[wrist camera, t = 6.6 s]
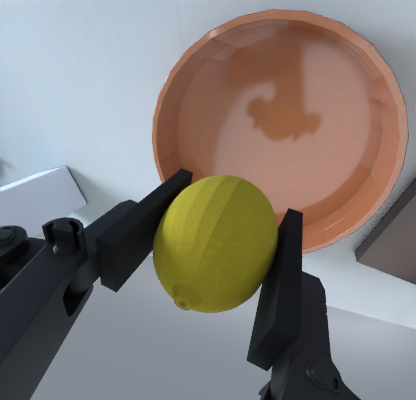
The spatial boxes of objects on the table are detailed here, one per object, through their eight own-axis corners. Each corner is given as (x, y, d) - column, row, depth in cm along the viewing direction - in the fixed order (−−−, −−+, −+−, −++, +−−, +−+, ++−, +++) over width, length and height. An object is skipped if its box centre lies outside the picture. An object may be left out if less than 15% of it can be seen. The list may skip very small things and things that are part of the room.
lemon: (277, 240, 15) (254, 375, 8) (199, 223, 16) (130, 323, 10) (292, 160, 12) (276, 270, 5) (196, 149, 13) (97, 223, 7)
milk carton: (42, 171, 39) (-130, 236, 23) (67, 165, 36) (-114, 235, 20) (63, 206, 42) (-78, 285, 26) (88, 203, 38) (-57, 291, 23)
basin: (166, 196, 31) (147, 212, 28) (187, 0, 19) (160, -17, 16) (316, 256, 27) (318, 285, 23) (459, 53, 15) (507, 47, 12)
